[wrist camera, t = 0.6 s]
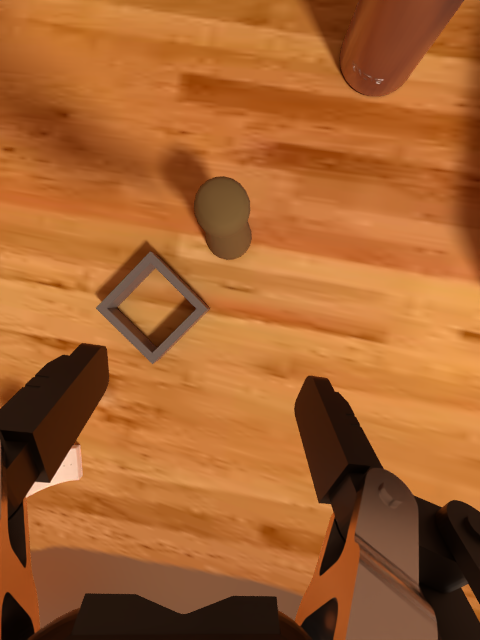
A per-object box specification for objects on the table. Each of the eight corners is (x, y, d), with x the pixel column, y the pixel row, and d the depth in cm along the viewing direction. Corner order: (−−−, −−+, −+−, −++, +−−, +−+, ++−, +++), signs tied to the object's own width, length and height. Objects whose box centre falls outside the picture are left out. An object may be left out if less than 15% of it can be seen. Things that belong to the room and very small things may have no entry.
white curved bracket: (82, 475, 34) (-5, 569, 22) (41, 476, 34) (-69, 569, 22) (80, 444, 34) (-10, 521, 22) (38, 445, 34) (-75, 522, 22)
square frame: (157, 255, 32) (150, 251, 30) (210, 308, 32) (207, 308, 30) (106, 307, 32) (95, 308, 30) (158, 359, 33) (152, 364, 30)
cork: (253, 215, 31) (259, 166, 20) (249, 261, 32) (251, 239, 21) (208, 211, 31) (188, 160, 20) (204, 257, 32) (182, 232, 21)
